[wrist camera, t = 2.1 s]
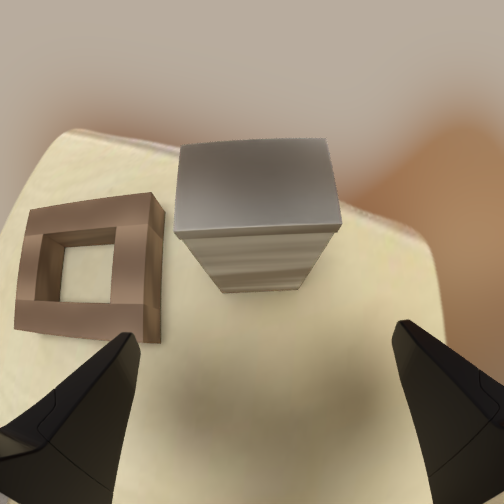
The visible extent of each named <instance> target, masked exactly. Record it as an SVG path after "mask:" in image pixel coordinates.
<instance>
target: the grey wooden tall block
mask: <svg viewBox="0 0 504 504" xmlns="http://www.w3.org/2000/svg"><path fill="white" fill-rule="evenodd" d="M341 225H342V217H341V211H340V205H339V199H338V194H337V189H336V183H335V178H334V172H333V167H332V163H331V158H330V153H329V148H328V144H327V139H326V138H279V139H277V138H276V139H250V140H232V141H218V142H207V143H197V144H187V145H181V147H180V156H179V166H178V176H177V187H176V199H175V212H174V228H173V232H174V233H175V235H176V236H177V237H178V238H179V240H182V241H183V242H184V243H185V245H186V246H187V247H188V249H189V250H190V251H191V253H192V254H193V255H194V257H195V258H196V259H197V261H198V262H199V263H200V265H201V266H202V267H203V269H204V270H205V271H206V273H207V274H208V275H209V276H210V278H211V279H212V280H213V282H214V283H215V284H216V286H217V287H218V288H219V289H220V291H221V292H222V293H239V292H263V291H283V290H298V289H299V287H300V286H301V284H302V283H303V281H304V280H305V278H306V277H307V275H308V274H309V272H310V271H311V269H312V267H313V266H314V264H315V263H316V261H317V260H318V258H319V257H320V255H321V253H322V252H323V250H324V249H325V247H326V246H327V244H328V242H329V241H330V239H331V238H332V236H333V234H334V233H335V232H338V230H339V229H340V227H341Z"/></svg>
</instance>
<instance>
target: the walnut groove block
mask: <svg viewBox="0 0 504 504" xmlns="http://www.w3.org/2000/svg"><path fill="white" fill-rule="evenodd" d="M164 221H165V211H164V210H163V208H162V207H161V205H160V204H159V203H158V201H157V200H156V198H155V197H154V195H153V194H152V192H148V193H139V194H131V195H123V196H115V197H107V198H100V199H93V200H86V201H79V202H73V203H67V204H61V205H55V206H49V207H43V208H38V209H32V210H30V212H29V217H28V221H27V226H26V230H25V235H24V241H23V246H22V252H21V258H20V265H19V272H18V281H17V290H16V302H15V317H14V329H16V330H22V331H28V332H35V333H42V334H49V335H57V336H65V337H74V338H84V339H95V340H107V341H111V340H113V339H114V338H115V337H116V336H117V335H119V334H120V333H121V332H132V333H133V334H134V335H135V338H136V340H137V342H138V343H161V274H162V252H163V235H164ZM105 244H115V245H114V255H113V266H112V280H111V297H110V304H109V303H75V302H59V299H60V286H61V276H62V267H63V259H64V251H65V247H76V246H90V245H105Z"/></svg>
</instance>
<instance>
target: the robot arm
mask: <svg viewBox="0 0 504 504" xmlns="http://www.w3.org/2000/svg"><path fill="white" fill-rule="evenodd" d="M392 346H393V351H394V355H395V359H396V363H397V368H398V372H399V377H400V381H401V384H402V387H403V390H404V393H405V396H406V399H407V402H408V406H409V409H410V412H411V415H412V419H413V422H414V426H415V429H416V433H417V436H418V440H419V443H420V447H421V451H422V455H423V459H424V463H425V467H426V471H427V476H428V481H429V485H430V490H431V495H432V500H433V504H504V386H503V385H501V384H500V383H498V382H497V381H495V380H494V379H492V378H491V377H490V376H488V375H487V374H485V373H484V372H483V371H481V370H479V369H478V368H477V367H476V366H474V365H473V364H472V363H470V362H469V361H467V360H466V359H465V358H463V357H462V356H460V355H459V354H458V353H456V352H455V351H453V350H452V349H451V348H449V347H448V346H446V345H445V344H444V343H442V342H441V341H439V340H438V339H436V338H435V337H434V336H432V335H431V334H429V333H428V332H426V331H425V330H424V329H422V328H421V327H419V326H418V325H416V324H415V323H413V322H412V321H410V320H400V321H398V322H397V324H396V327H395V330H394V333H393V336H392ZM140 355H141V352H140V348H139V345H138V343H137V340H136V338H135V335H134V334H133V333H132V332H121V333H120V334H119V335H117V336H116V337H115V338H114V339H113V340H111V341H110V342H109V343H108V344H107V345H105V346H104V347H103V348H102V349H101V350H99V351H98V352H97V353H96V354H95V355H93V356H92V357H91V358H90V359H89V360H87V361H86V362H85V363H84V364H83V365H81V366H80V367H79V368H78V369H77V370H76V371H74V372H73V373H72V374H71V375H70V376H68V377H67V378H66V379H65V380H64V381H63V382H61V383H60V384H59V385H58V386H57V387H56V388H55V389H53V390H52V391H51V392H50V393H48V394H47V395H46V396H45V397H44V398H42V399H41V400H40V401H39V402H37V403H36V404H35V405H33V406H32V407H31V408H29V409H28V410H27V411H25V412H24V413H22V414H21V415H20V416H18V417H17V418H15V419H14V420H13V421H11V422H10V423H8V424H7V425H5V426H3V427H1V428H0V504H112V499H113V492H114V486H115V481H116V475H117V470H118V465H119V460H120V455H121V450H122V445H123V441H124V436H125V432H126V427H127V423H128V419H129V415H130V411H131V406H132V402H133V398H134V394H135V389H136V382H137V375H138V368H139V362H140Z"/></svg>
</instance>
